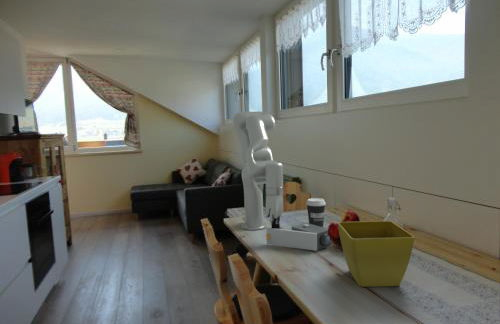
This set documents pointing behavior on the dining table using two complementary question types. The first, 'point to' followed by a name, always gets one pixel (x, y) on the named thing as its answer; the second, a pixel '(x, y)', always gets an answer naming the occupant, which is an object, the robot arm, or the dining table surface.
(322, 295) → the dining table surface
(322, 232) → the camera body
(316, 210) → the coffee cup
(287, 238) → the side door
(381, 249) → the flower pot
